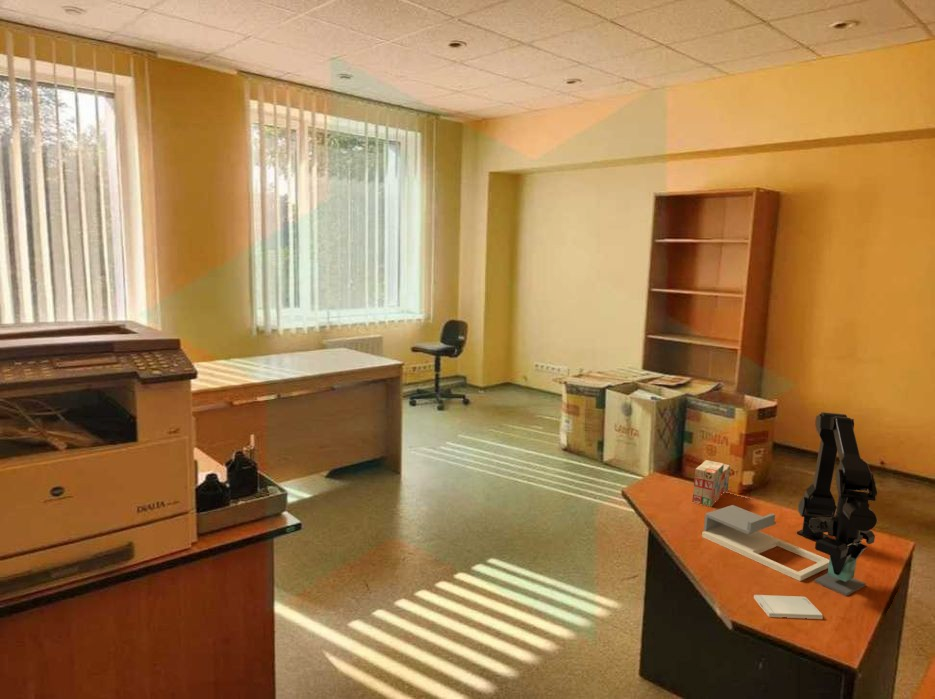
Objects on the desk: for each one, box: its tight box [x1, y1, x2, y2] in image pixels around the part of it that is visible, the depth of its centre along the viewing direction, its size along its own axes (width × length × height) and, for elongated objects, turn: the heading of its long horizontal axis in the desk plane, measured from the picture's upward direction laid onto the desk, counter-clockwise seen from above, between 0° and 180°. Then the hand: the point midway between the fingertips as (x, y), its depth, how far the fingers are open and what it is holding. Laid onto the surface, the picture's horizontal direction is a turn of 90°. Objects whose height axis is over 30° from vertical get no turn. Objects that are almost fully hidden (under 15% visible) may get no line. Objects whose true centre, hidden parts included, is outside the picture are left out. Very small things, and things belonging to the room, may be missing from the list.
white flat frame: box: [701, 524, 830, 582], centre depth 179 cm, size 16×30×2 cm, turn 34°
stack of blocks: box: [691, 459, 731, 508], centre depth 219 cm, size 21×6×12 cm, turn 143°
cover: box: [703, 504, 777, 534], centre depth 186 cm, size 14×14×8 cm
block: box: [827, 557, 857, 582], centre depth 162 cm, size 4×4×5 cm
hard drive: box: [753, 594, 824, 620], centre depth 150 cm, size 2×8×12 cm
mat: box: [813, 572, 867, 597], centre depth 163 cm, size 10×8×1 cm
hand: (841, 572), depth 162 cm, fingers closed on block, 4 cm apart
